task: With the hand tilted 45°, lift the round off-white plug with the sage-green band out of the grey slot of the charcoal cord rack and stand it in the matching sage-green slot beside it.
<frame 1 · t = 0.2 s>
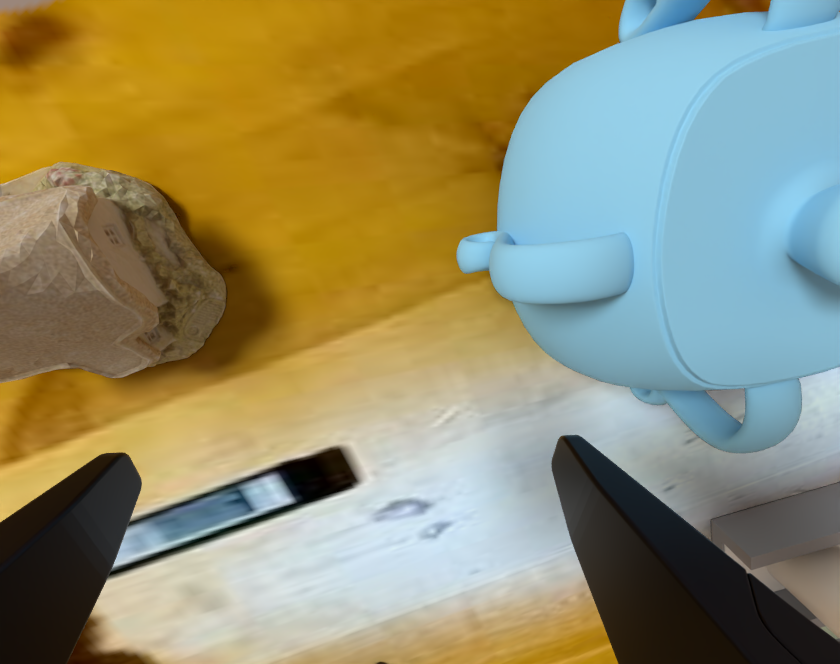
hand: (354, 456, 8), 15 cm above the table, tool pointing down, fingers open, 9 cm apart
ceramic model: (90, 279, 22), on the table
decorative pot: (606, 219, 23), on the table
cord rack: (782, 579, 33), on the table
plug: (796, 554, 31), point 1 cm above the table, touching cord rack
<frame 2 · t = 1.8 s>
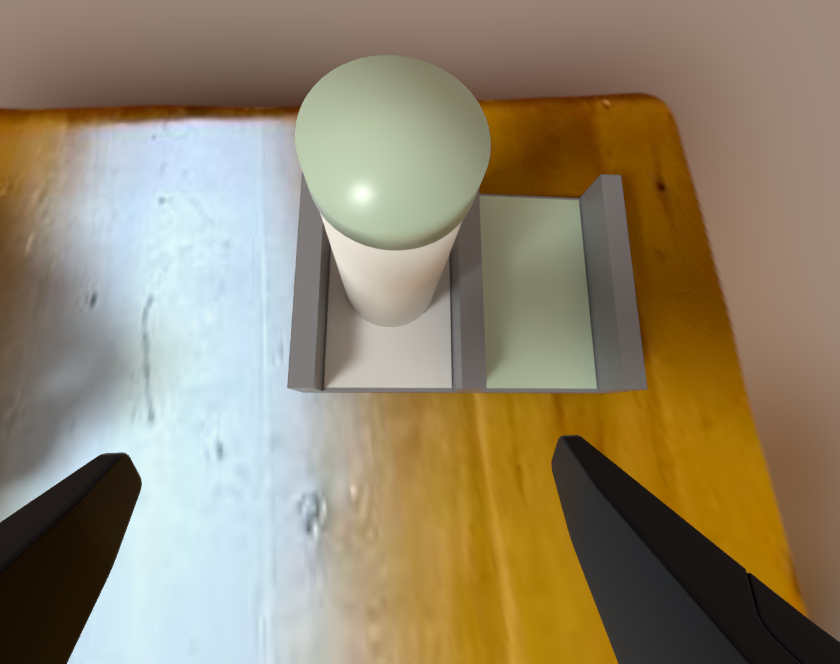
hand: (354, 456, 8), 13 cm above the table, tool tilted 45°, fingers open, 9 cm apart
cord rack: (458, 292, 24), on the table
plug: (390, 284, 22), point 1 cm above the table, touching cord rack
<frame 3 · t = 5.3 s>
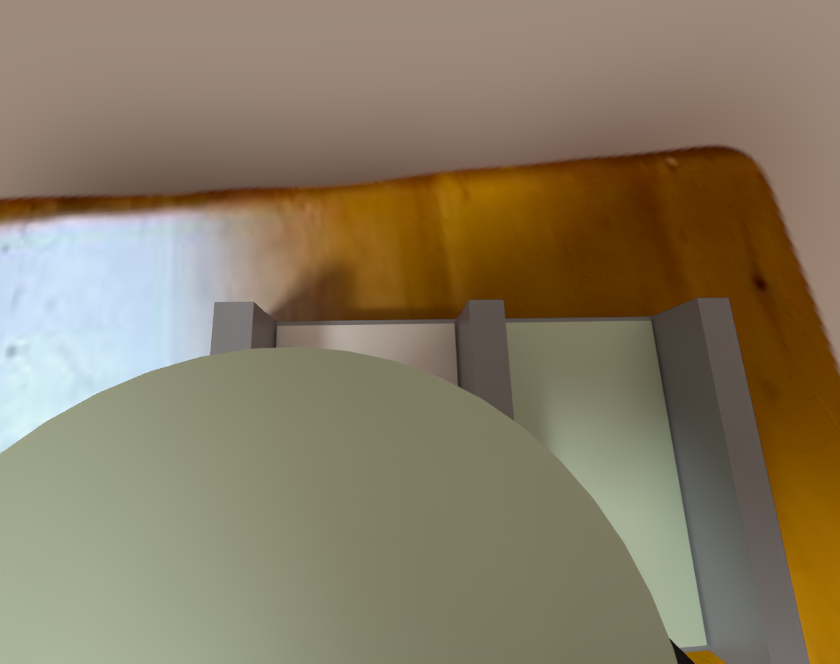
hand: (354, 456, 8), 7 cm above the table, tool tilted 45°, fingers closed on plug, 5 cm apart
cord rack: (475, 474, 15), on the table
plug: (368, 483, 14), point 1 cm above the table, touching cord rack, gripper
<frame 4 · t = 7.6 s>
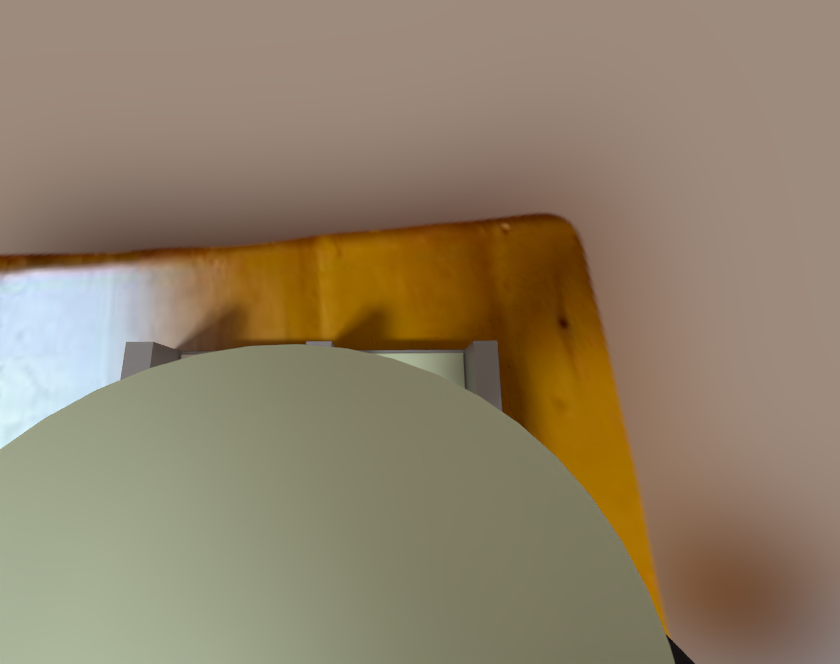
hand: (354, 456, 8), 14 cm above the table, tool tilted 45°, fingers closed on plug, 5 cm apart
cord rack: (325, 464, 21), on the table
plug: (367, 483, 14), point 8 cm above the table, touching gripper
when the fingers open (8 cm above the table, at t = 9.9 s): plug stays where it is, resting on cord rack.
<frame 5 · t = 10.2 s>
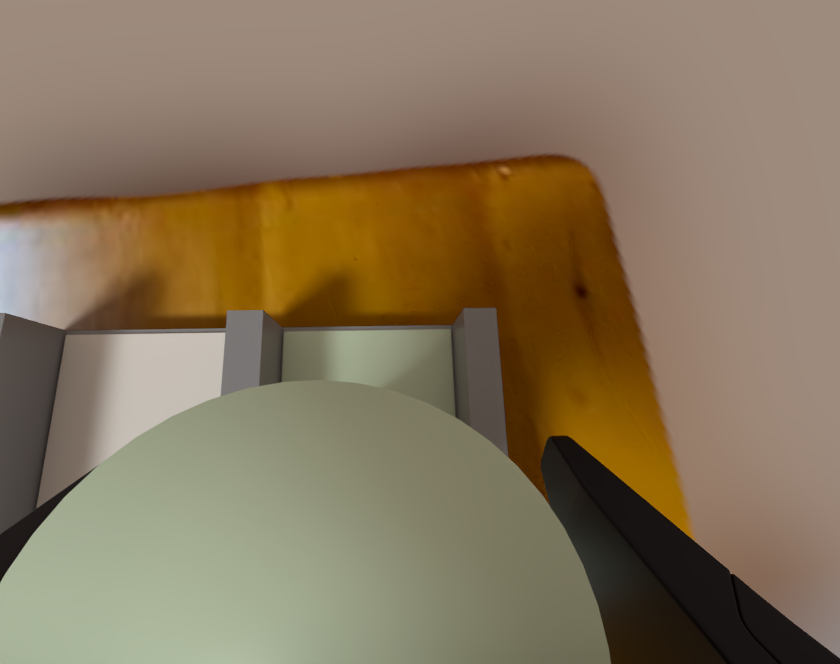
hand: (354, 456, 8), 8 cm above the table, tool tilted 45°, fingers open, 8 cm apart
cord rack: (266, 480, 16), on the table
plug: (369, 480, 15), point 1 cm above the table, touching cord rack
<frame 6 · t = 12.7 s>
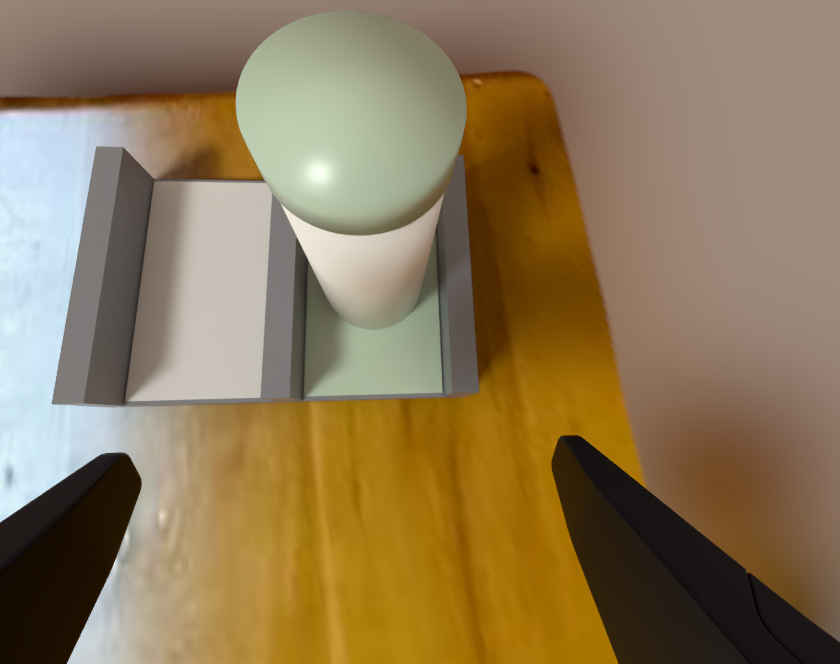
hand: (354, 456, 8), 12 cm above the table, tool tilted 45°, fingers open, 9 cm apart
cord rack: (298, 290, 21), on the table
plug: (373, 283, 21), point 1 cm above the table, touching cord rack
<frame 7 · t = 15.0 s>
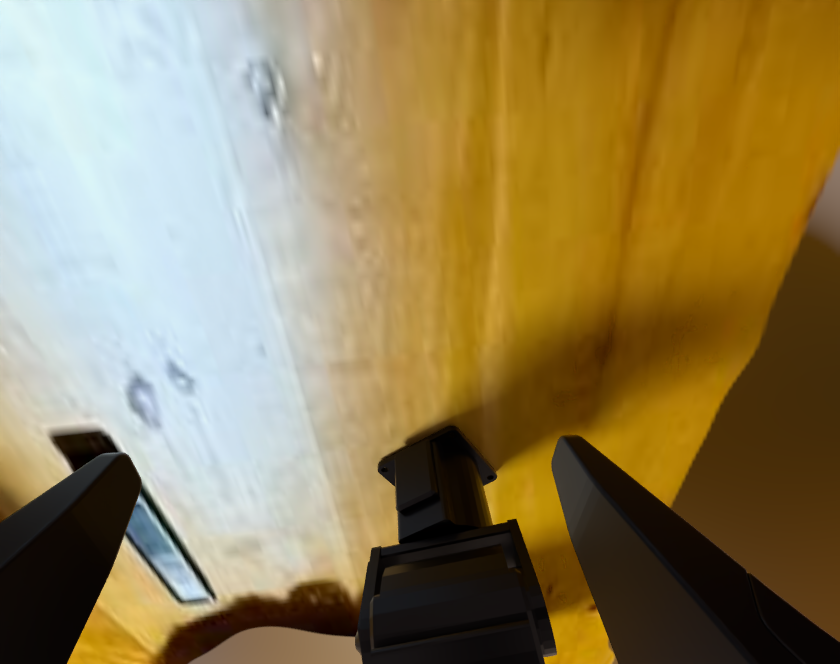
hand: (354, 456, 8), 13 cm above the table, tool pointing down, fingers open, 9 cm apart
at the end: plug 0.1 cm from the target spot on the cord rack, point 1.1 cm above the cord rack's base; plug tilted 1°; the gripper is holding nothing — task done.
